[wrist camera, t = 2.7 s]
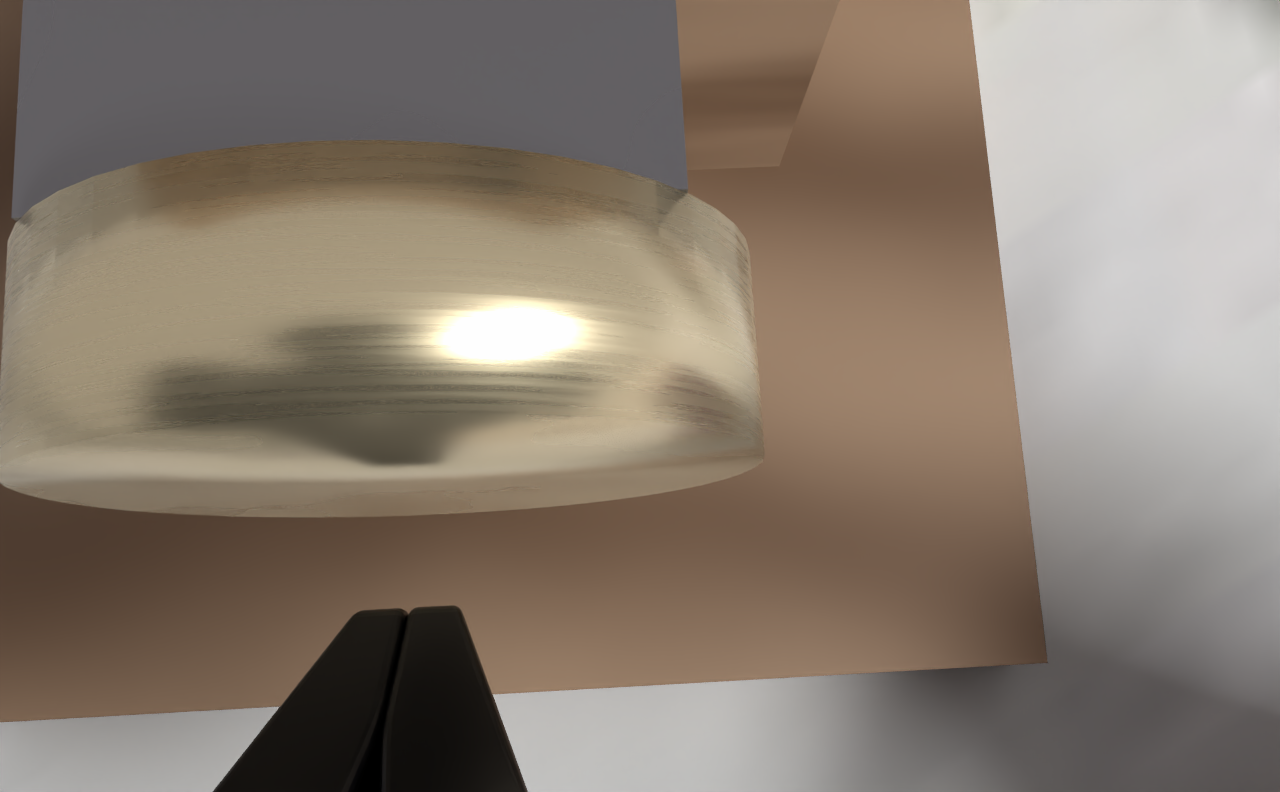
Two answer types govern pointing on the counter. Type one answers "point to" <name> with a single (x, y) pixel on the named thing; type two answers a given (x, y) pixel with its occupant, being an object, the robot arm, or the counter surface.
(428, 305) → the knob
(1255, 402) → the counter surface
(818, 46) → the bracket
